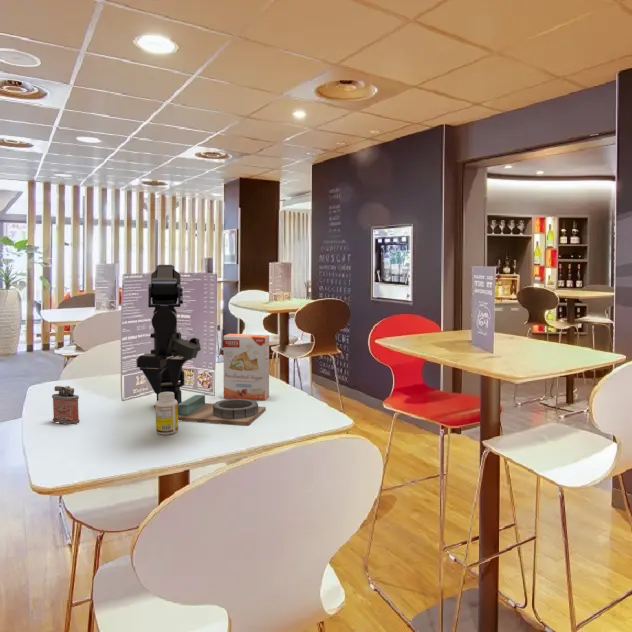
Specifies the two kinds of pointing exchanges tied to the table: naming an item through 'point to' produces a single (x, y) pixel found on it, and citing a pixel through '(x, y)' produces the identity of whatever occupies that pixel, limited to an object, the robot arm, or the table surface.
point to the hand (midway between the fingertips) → (166, 389)
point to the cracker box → (246, 366)
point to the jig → (219, 411)
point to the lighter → (65, 405)
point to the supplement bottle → (166, 414)
